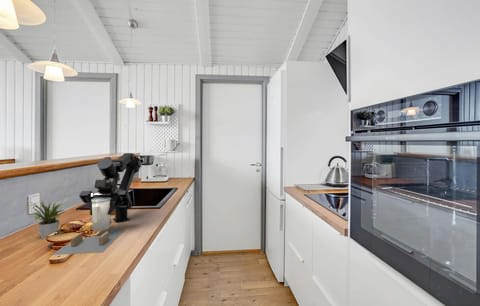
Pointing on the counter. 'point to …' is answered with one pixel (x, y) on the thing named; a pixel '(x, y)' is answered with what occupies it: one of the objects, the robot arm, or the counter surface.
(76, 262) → the counter surface
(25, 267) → the counter surface
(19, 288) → the counter surface
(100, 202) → the white mug
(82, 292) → the counter surface
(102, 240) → the holder
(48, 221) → the house plant
